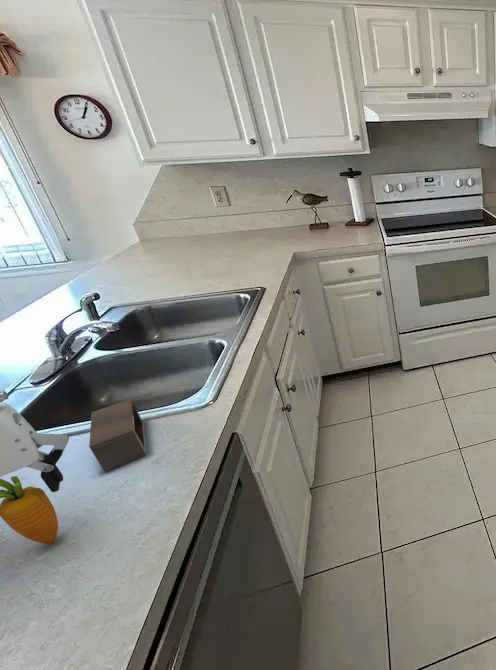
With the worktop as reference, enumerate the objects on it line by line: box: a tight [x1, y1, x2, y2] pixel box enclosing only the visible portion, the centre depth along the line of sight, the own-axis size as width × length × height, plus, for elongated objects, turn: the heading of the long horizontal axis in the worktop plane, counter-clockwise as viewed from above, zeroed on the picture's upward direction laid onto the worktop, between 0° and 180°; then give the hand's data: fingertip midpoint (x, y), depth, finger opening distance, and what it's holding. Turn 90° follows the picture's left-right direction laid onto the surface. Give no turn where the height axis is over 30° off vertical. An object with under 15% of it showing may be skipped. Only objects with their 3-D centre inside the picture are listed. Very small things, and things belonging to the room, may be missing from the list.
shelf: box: [88, 398, 147, 474], centre depth 87 cm, size 13×7×7 cm, turn 41°
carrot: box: [0, 475, 59, 545], centre depth 66 cm, size 5×5×15 cm
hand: (20, 500), depth 64 cm, fingers open, 7 cm apart
